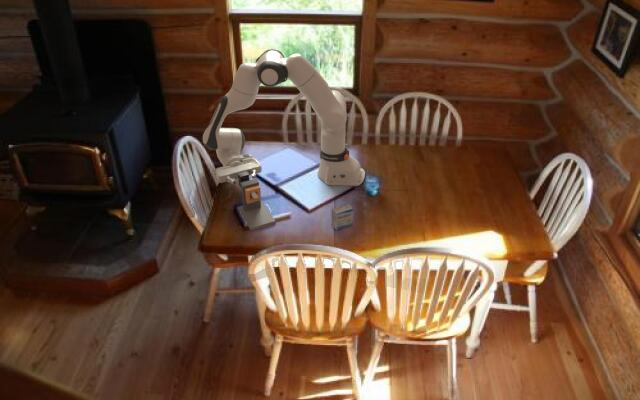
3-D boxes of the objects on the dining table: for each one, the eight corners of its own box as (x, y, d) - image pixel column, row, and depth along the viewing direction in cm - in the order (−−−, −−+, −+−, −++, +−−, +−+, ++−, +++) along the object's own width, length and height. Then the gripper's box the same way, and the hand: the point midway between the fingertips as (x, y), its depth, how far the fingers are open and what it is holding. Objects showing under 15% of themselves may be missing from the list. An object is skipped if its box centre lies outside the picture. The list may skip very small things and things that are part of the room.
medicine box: (336, 230, 214) (336, 214, 209) (330, 224, 218) (331, 208, 212) (352, 225, 217) (353, 208, 212) (347, 219, 221) (348, 202, 215)
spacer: (245, 201, 219) (244, 188, 215) (259, 197, 221) (258, 184, 217) (247, 203, 217) (246, 191, 214) (261, 200, 220) (260, 187, 216)
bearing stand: (237, 209, 226) (234, 182, 217) (261, 202, 230) (259, 175, 221) (250, 231, 214) (247, 202, 205) (275, 223, 218) (273, 195, 209)
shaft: (239, 184, 227) (237, 173, 223) (247, 182, 228) (246, 171, 225) (252, 205, 215) (251, 193, 211) (261, 202, 216) (260, 191, 213)
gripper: (210, 164, 229) (220, 180, 219) (254, 153, 236) (265, 168, 226) (212, 176, 233) (221, 192, 223) (255, 165, 240) (266, 180, 230)
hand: (244, 180), depth 224 cm, fingers open, 8 cm apart
